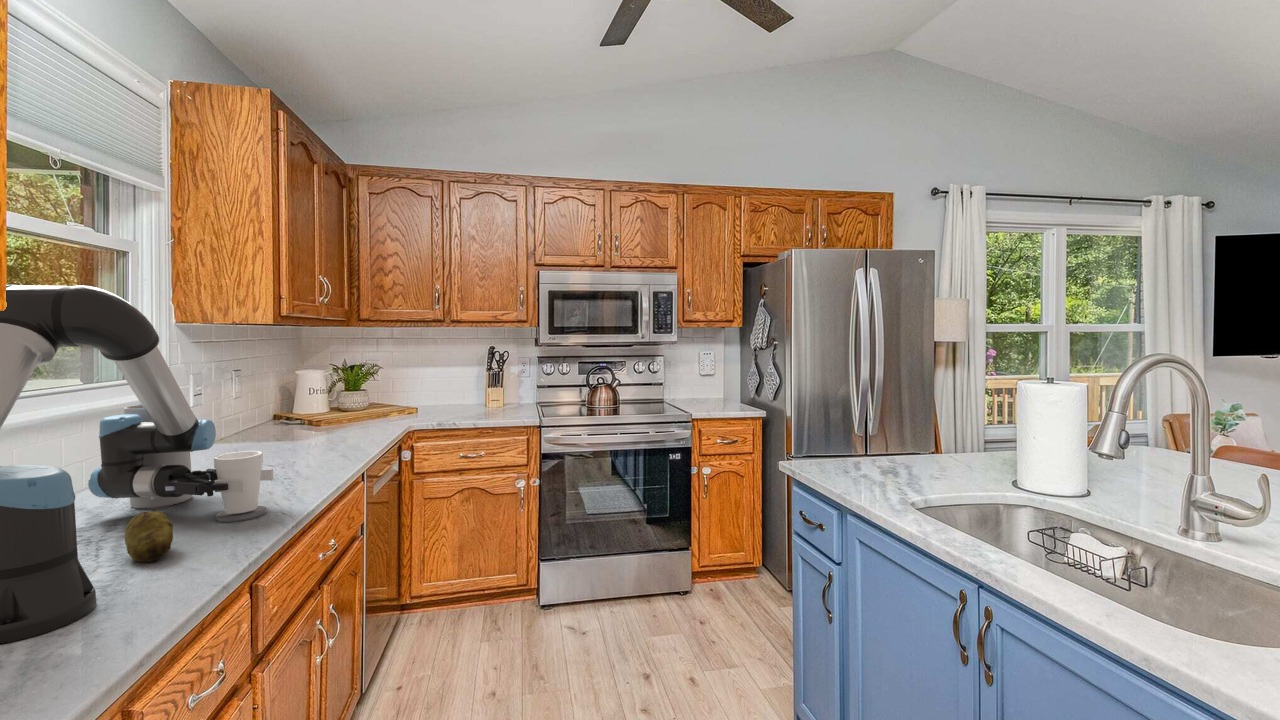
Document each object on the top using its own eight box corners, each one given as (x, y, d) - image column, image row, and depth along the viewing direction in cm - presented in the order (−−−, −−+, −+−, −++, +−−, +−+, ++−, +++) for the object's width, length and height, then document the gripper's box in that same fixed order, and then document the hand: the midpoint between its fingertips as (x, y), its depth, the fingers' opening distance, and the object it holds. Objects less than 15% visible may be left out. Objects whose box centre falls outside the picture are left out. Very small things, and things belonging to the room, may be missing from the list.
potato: (112, 572, 108) (109, 528, 108) (132, 549, 119) (129, 510, 119) (169, 562, 112) (166, 521, 111) (183, 541, 123) (181, 503, 123)
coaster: (238, 523, 134) (238, 520, 134) (205, 520, 137) (204, 517, 137) (276, 510, 143) (276, 507, 143) (244, 507, 146) (244, 504, 146)
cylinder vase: (128, 502, 152) (122, 405, 151) (189, 492, 161) (183, 401, 160) (132, 512, 143) (125, 410, 142) (196, 501, 152) (190, 405, 151)
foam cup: (270, 508, 140) (267, 454, 139) (223, 518, 133) (219, 461, 133) (258, 501, 147) (255, 449, 146) (213, 510, 140) (210, 455, 139)
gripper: (200, 484, 151) (287, 483, 151) (124, 511, 129) (226, 510, 129) (198, 455, 151) (286, 454, 150) (122, 477, 129) (224, 476, 128)
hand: (258, 479), depth 139 cm, fingers closed on foam cup, 9 cm apart
